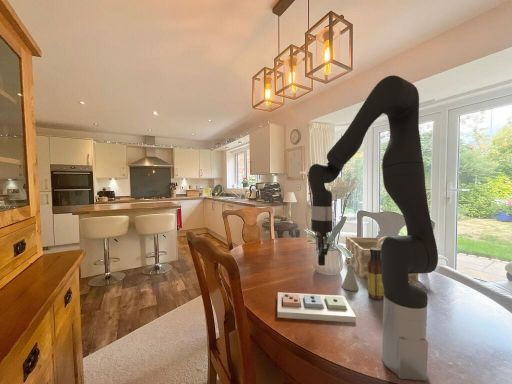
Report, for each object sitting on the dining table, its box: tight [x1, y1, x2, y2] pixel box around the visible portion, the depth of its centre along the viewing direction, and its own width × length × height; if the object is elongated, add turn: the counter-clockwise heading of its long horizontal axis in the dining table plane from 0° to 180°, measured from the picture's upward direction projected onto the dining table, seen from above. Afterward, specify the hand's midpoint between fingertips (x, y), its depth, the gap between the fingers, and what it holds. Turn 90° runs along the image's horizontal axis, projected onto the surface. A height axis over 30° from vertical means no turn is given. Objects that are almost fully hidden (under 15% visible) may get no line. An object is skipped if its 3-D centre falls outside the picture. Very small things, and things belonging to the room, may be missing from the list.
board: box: [277, 291, 357, 323], centre depth 84 cm, size 14×26×2 cm, turn 84°
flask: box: [341, 264, 359, 292], centre depth 100 cm, size 7×7×10 cm
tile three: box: [282, 294, 301, 308], centre depth 84 cm, size 6×6×3 cm
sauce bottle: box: [367, 248, 384, 301], centre depth 92 cm, size 6×6×20 cm
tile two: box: [304, 295, 323, 309], centre depth 84 cm, size 6×6×3 cm
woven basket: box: [345, 236, 419, 281], centre depth 123 cm, size 26×26×14 cm
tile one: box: [325, 296, 346, 310], centre depth 83 cm, size 6×6×3 cm
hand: (321, 264), depth 84 cm, fingers closed
